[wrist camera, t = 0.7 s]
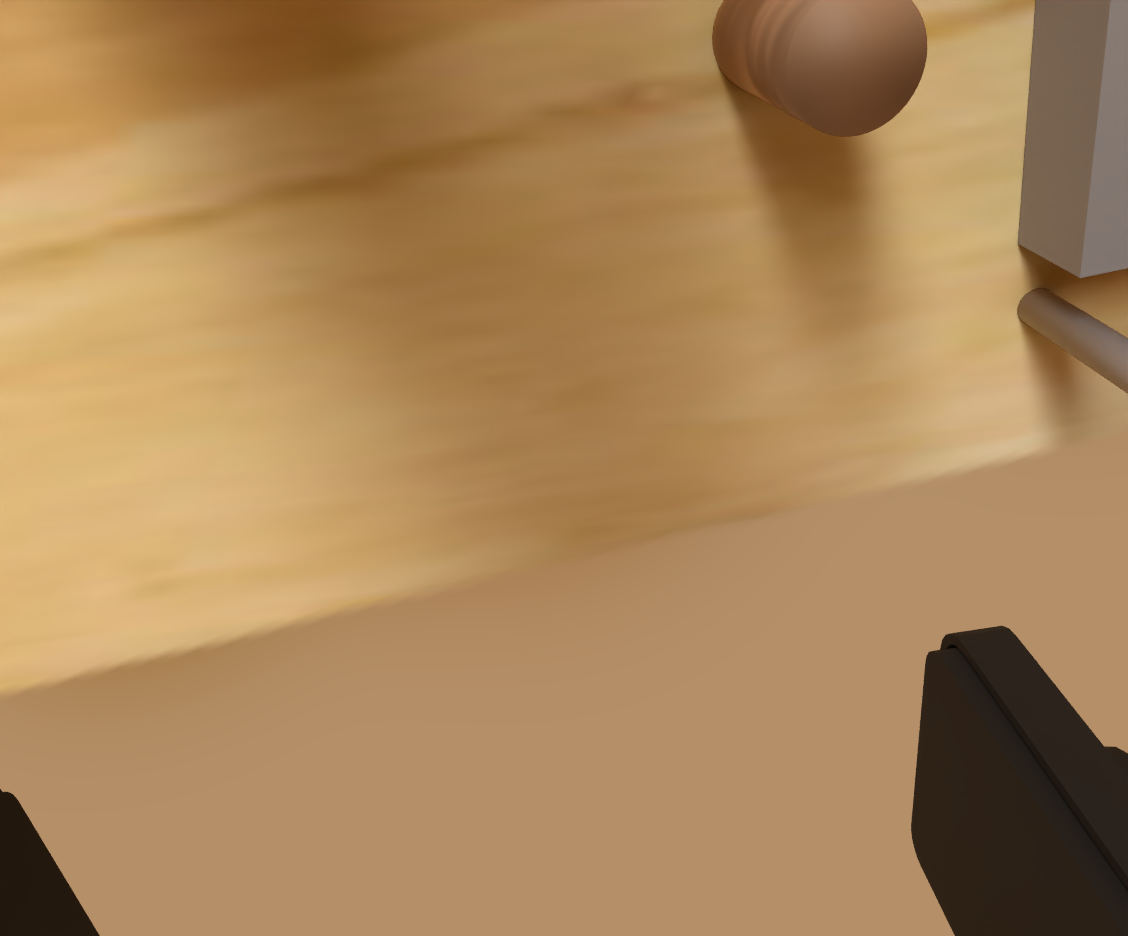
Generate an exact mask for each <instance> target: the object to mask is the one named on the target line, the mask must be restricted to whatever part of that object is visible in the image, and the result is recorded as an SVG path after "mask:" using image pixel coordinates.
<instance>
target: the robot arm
mask: <svg viewBox="0 0 1128 936" xmlns="http://www.w3.org/2000/svg"><path fill="white" fill-rule="evenodd" d="M922 698H923V699H922V709H921V720H920V731H919V743H918V755H917V766H916V777H915V789H914V801H913V812H912V823H911V832H912V839H913V844H914V848H915V851H916V855H917V858H918V860H919V862H920V865H921V867H922V869H923V871H924V873H925V875H926V877H927V879H928V882H929V883H930V886H931V888H932V890H933V891H934V894H935V896H936V898H937V900H938V902H939V904H940V906H941V908H942V910H943V912H944V914H945V916H946V918H947V921H948V923H949V925H950V927H951V929H952V931H953V933H954V935H955V936H1128V753H1126V752H1124V751H1122V750H1120V749H1119V748H1117V747H1104V746H1103V745H1102V743H1101V742H1100V741H1099V740H1098V738H1097V737H1096V736H1095V735H1094V733H1093V732H1092V731H1091V729H1090V728H1089V727H1088V726H1087V725H1086V723H1085V722H1084V721H1083V719H1082V718H1081V717H1080V716H1079V714H1078V713H1077V712H1076V711H1075V709H1074V708H1073V707H1072V706H1071V704H1070V703H1069V702H1068V701H1067V699H1066V698H1065V697H1064V695H1063V694H1062V693H1061V692H1060V690H1059V689H1058V688H1057V687H1056V685H1055V684H1054V683H1053V682H1052V680H1051V679H1050V678H1049V677H1048V676H1047V674H1046V673H1045V672H1044V670H1043V669H1042V668H1041V667H1040V665H1039V664H1038V663H1037V661H1036V660H1035V659H1034V658H1033V656H1032V655H1031V654H1030V653H1029V651H1028V650H1027V649H1026V648H1025V646H1024V645H1023V644H1022V643H1021V641H1020V640H1019V639H1018V638H1017V636H1016V635H1015V634H1014V633H1013V632H1012V631H1011V630H1010V629H1009V628H1006V627H1004V626H998V627H991V628H984V629H978V630H972V631H965V632H958V633H952V634H948V635H945V637H944V638H943V640H942V644H941V648H940V650H937V651H931V652H929V653H928V655H927V658H926V664H925V674H924V686H923V697H922ZM0 936H99V934H98V932H97V931H96V929H95V928H94V926H93V924H92V922H91V921H90V919H89V917H88V916H87V914H86V913H85V911H84V909H83V907H82V906H81V904H80V902H79V901H78V899H77V898H76V896H75V894H74V892H73V891H72V889H71V888H70V886H69V884H68V883H67V881H66V879H65V878H64V876H63V874H62V873H61V871H60V869H59V868H58V866H57V864H56V863H55V861H54V859H53V858H52V856H51V854H50V853H49V851H48V849H47V848H46V846H45V844H44V843H43V841H42V839H41V838H40V836H39V834H38V833H37V831H36V830H35V828H34V826H33V824H32V823H31V821H30V819H29V818H28V816H27V814H26V813H25V811H24V810H23V808H22V806H21V805H20V803H19V801H18V800H17V799H16V797H15V796H14V795H13V794H11V793H9V792H2V791H1V789H0Z"/></svg>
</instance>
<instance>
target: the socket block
mask: <svg viewBox="0 0 1128 936" xmlns="http://www.w3.org/2000/svg"><path fill="white" fill-rule="evenodd" d="M1018 244H1019V245H1021V246H1023V247H1025V248H1026V249H1028V250H1030V251H1032V252H1034V253H1035V254H1037V255H1039V256H1041V257H1043V258H1044V259H1046V260H1048V261H1050V262H1052V263H1053V264H1055V265H1057V266H1059V267H1061V268H1063V269H1064V270H1066V271H1068V272H1070V273H1072V274H1073V275H1075V276H1077V277H1079V278H1083V277H1088V276H1093V275H1098V274H1103V273H1107V272H1112V271H1117V270H1122V269H1127V268H1128V0H1036V5H1035V18H1034V32H1033V46H1032V59H1031V73H1030V87H1029V100H1028V114H1027V128H1026V141H1025V155H1024V168H1023V182H1022V196H1021V209H1020V223H1019V237H1018Z"/></svg>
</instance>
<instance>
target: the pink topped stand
mask: <svg viewBox="0 0 1128 936" xmlns="http://www.w3.org/2000/svg"><path fill="white" fill-rule="evenodd" d="M1018 316H1019V318H1020V319H1021V320H1022V321H1023V322H1024V323H1026V324H1027V325H1029V326H1030V327H1032V328H1033V329H1035V330H1036V331H1037V332H1039V333H1040V334H1042V335H1043V336H1045V337H1046V338H1048V339H1049V340H1051V341H1052V342H1053V343H1055V344H1056V345H1058V346H1059V347H1061V348H1062V349H1064V350H1065V351H1067V352H1068V353H1069V354H1071V355H1072V356H1074V357H1075V358H1077V359H1078V360H1080V361H1081V362H1083V363H1084V364H1085V365H1087V366H1088V367H1090V368H1091V369H1093V370H1094V371H1096V372H1097V373H1099V374H1100V375H1101V376H1103V377H1104V378H1106V379H1107V380H1109V381H1110V382H1112V383H1113V384H1115V385H1116V386H1118V387H1119V388H1120V389H1122V390H1123V391H1125V392H1126V393H1128V338H1127V337H1125V336H1123V335H1122V334H1120V333H1118V332H1117V331H1115V330H1113V329H1112V328H1110V327H1108V326H1107V325H1105V324H1103V323H1102V322H1100V321H1098V320H1097V319H1095V318H1094V317H1092V316H1090V315H1089V314H1087V313H1085V312H1084V311H1082V310H1080V309H1079V308H1077V307H1075V306H1074V305H1072V304H1070V303H1069V302H1067V301H1065V300H1064V299H1062V298H1060V297H1059V296H1057V295H1055V294H1054V293H1052V292H1050V291H1049V290H1047V289H1043V288H1039V289H1035V290H1032V291H1030V292H1029V293H1027V294H1026V295H1025V296H1024V297H1023V298H1022V300H1021V301H1020V303H1019V306H1018Z"/></svg>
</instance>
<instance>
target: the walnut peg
mask: <svg viewBox="0 0 1128 936" xmlns="http://www.w3.org/2000/svg"><path fill="white" fill-rule="evenodd" d="M712 41H713V51H714V55H715V58H716V61H717V63H718V66H719V68H720V69H721V71H722V73H723V74H724V75H725V76H726V77H727V78H728V79H729V80H730V81H731V82H732V83H733V84H735V85H736V86H738V87H740V88H742V89H743V90H745V91H747V92H749V93H751V94H753V95H754V96H756V97H758V98H760V99H762V100H764V101H765V102H767V103H769V104H771V105H773V106H775V107H776V108H778V109H780V110H782V111H784V112H786V113H787V114H789V115H791V116H793V117H795V118H797V119H798V120H800V121H802V122H804V123H806V124H808V125H810V126H811V127H813V128H815V129H817V130H819V131H821V132H823V133H826V134H829V135H833V136H840V137H850V136H857V135H861V134H865V133H868V132H870V131H873V130H875V129H877V128H879V127H881V126H882V125H884V124H885V123H887V122H888V121H890V120H891V119H892V118H893V117H894V116H896V115H897V114H898V113H899V112H900V111H901V110H902V108H903V107H904V106H905V105H906V104H907V102H908V101H909V100H910V98H911V97H912V95H913V94H914V92H915V90H916V88H917V86H918V84H919V82H920V79H921V77H922V74H923V71H924V67H925V62H926V57H927V35H926V29H925V25H924V22H923V19H922V17H921V14H920V12H919V10H918V9H917V7H916V6H915V4H914V3H913V1H912V0H724V1H723V3H722V4H721V6H720V8H719V10H718V13H717V15H716V19H715V22H714V27H713V36H712Z"/></svg>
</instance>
